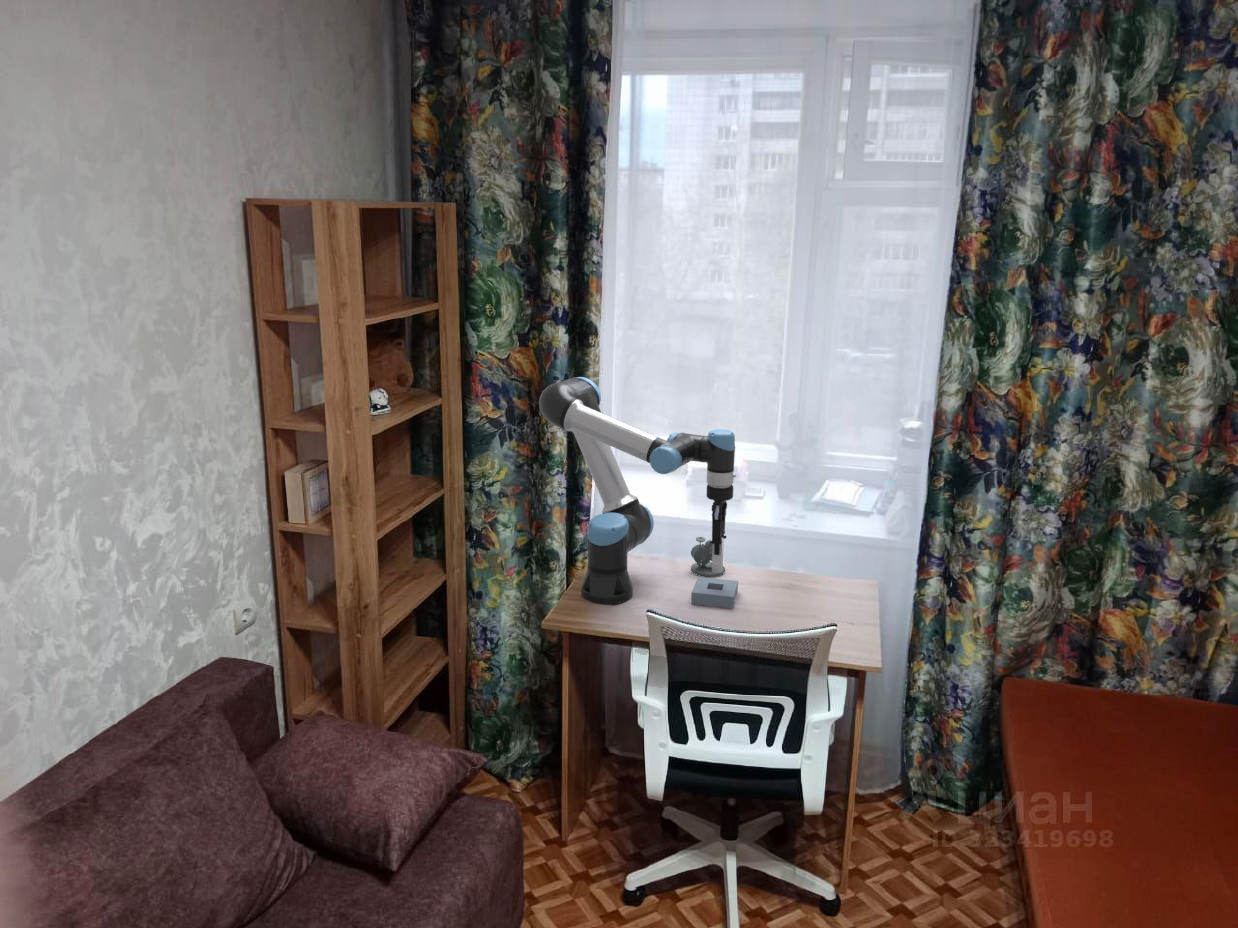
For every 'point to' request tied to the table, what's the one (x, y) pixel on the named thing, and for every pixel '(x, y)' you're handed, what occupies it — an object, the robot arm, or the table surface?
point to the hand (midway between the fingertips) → (717, 562)
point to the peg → (718, 567)
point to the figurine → (703, 559)
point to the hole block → (714, 592)
